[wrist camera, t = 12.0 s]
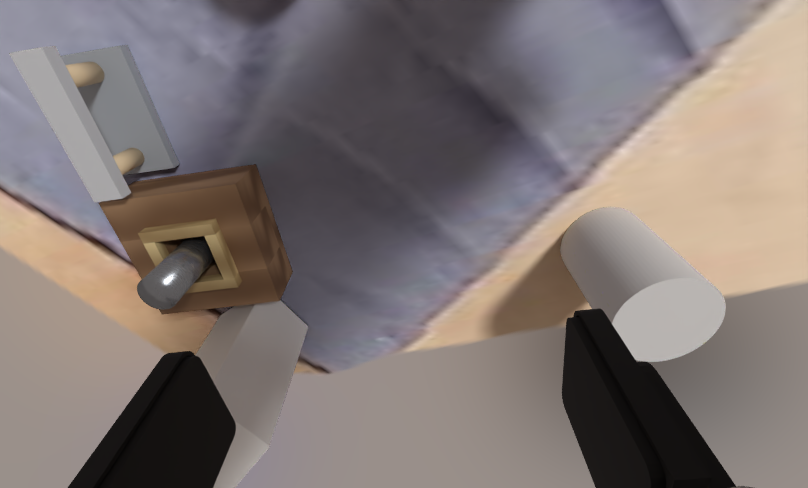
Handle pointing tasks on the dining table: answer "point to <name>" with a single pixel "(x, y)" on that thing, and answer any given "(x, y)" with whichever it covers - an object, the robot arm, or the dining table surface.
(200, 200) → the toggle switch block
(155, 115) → the peg rack
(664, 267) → the light grey cylinder
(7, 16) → the dining table surface
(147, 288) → the pin
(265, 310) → the milk carton
